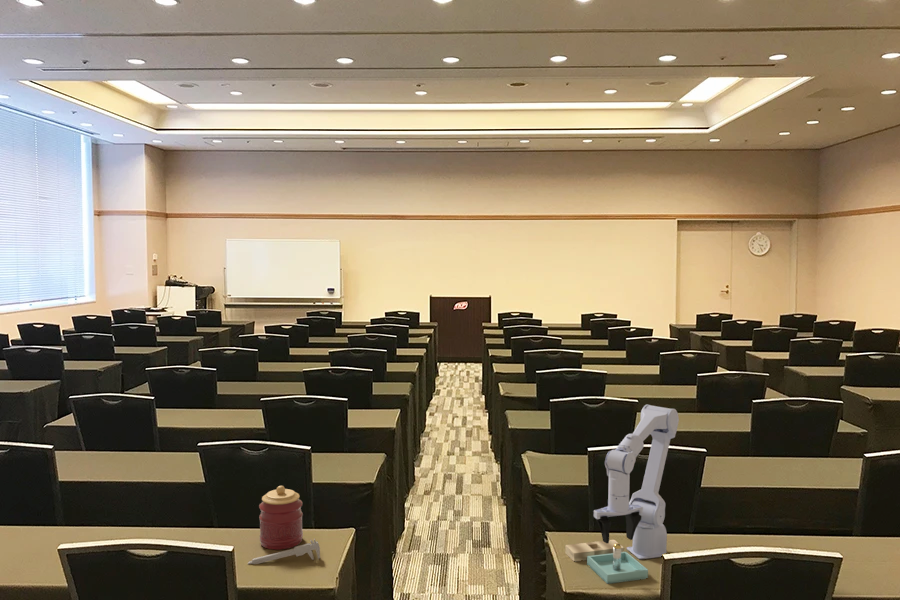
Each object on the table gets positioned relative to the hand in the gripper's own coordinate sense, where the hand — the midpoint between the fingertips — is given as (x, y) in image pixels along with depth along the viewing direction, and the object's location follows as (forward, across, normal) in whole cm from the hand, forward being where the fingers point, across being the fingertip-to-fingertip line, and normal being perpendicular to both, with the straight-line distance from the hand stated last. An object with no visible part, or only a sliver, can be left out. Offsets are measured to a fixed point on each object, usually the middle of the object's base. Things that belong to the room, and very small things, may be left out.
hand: (617, 540), depth 210 cm
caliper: (+9, +89, -35) cm, 96 cm away
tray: (+9, 0, 0) cm, 9 cm away
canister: (+9, +88, -49) cm, 101 cm away
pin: (+8, 0, 0) cm, 9 cm away
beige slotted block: (+9, 0, -12) cm, 15 cm away
